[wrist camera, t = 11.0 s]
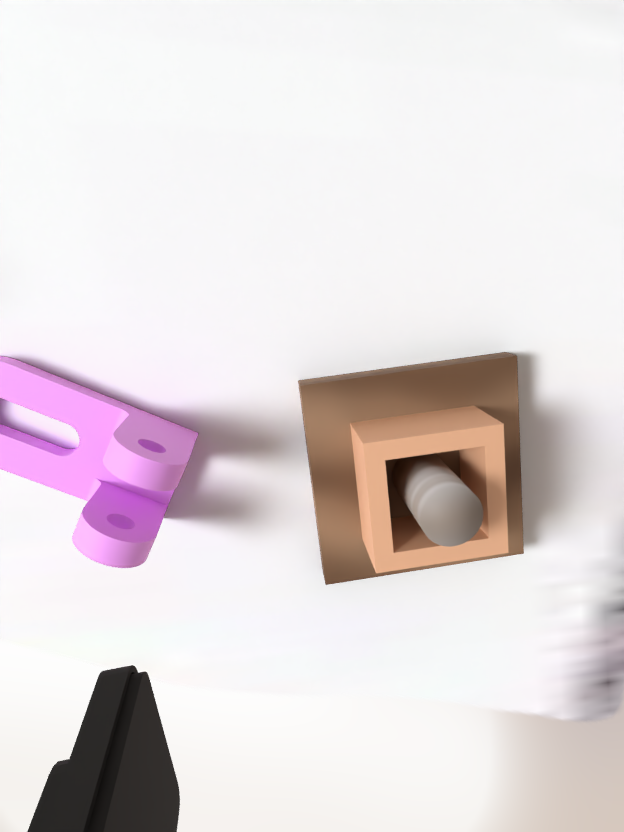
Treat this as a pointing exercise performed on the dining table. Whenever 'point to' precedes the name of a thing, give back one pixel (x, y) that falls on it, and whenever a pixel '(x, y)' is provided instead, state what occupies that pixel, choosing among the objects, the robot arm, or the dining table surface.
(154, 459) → the bracket
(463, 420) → the collar
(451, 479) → the post stand
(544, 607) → the dining table surface
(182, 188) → the dining table surface
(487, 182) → the dining table surface
